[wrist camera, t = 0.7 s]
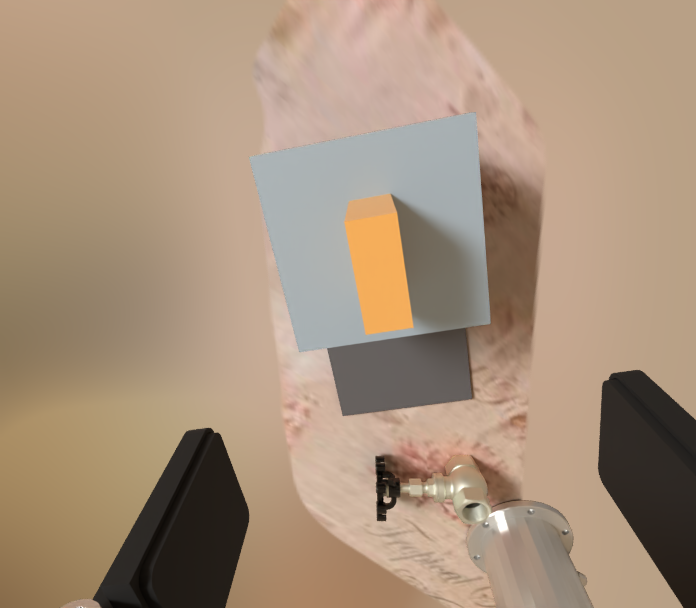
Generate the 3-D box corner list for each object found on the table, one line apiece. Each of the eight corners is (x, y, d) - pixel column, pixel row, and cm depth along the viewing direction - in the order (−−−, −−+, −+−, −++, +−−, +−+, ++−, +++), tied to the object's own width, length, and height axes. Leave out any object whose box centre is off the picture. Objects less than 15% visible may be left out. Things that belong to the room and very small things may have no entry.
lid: (482, 310, 31) (520, 371, 23) (303, 337, 32) (284, 403, 25) (467, 113, 26) (508, 108, 18) (257, 154, 27) (216, 166, 20)
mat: (471, 396, 47) (472, 399, 46) (343, 413, 48) (342, 415, 48) (459, 274, 42) (460, 275, 41) (316, 297, 43) (316, 299, 43)
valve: (481, 442, 49) (375, 443, 50) (498, 487, 43) (376, 487, 44) (477, 487, 52) (375, 487, 52) (492, 535, 46) (377, 535, 46)
